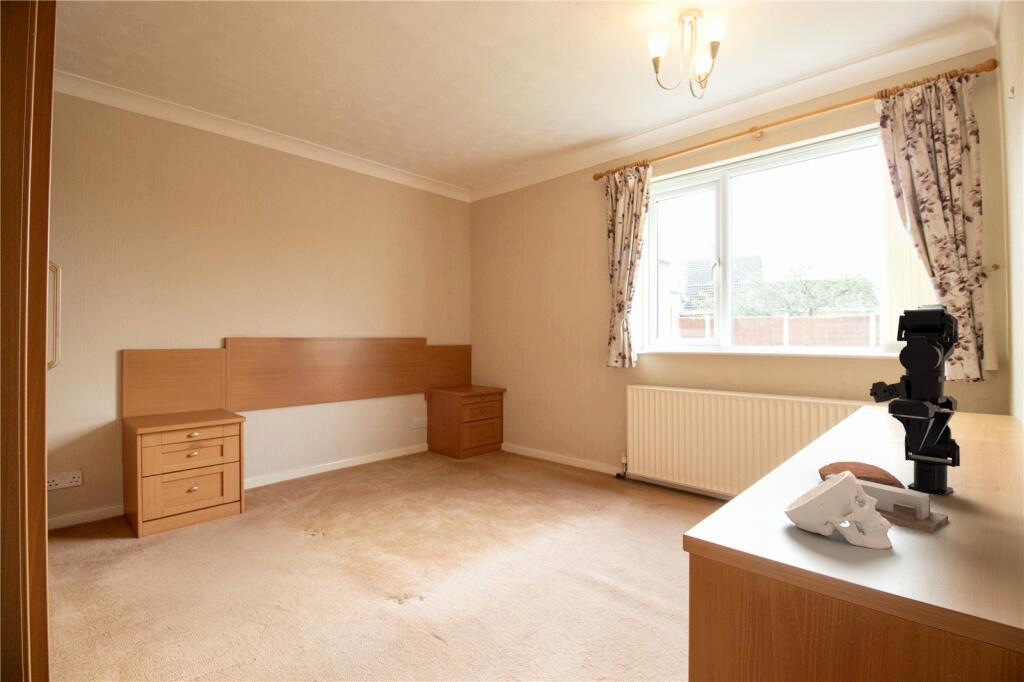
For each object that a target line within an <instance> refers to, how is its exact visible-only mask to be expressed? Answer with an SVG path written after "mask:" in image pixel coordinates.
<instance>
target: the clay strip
mask: <svg viewBox="0 0 1024 682" xmlns="http://www.w3.org/2000/svg"><path fill="white" fill-rule="evenodd" d="M834 476H836V474H831V475H828V476H825V481H826V480H828V479H830V478H832V477H834ZM858 481H859V482H860V484H861V486H862V488H863V491H864V492H865V493H866V494H867V495H868V496H870V497H872V498H875V499H877V500H878V501H877V502H876V504H875V508H877V509H881V510H885V511H889V512H893V503H895V502H899V503H903V504H908V505H912V506H916V507H917V519H921V520H923V519H924V518H926V517H928V516H929V499H930V493H924V492H920V491H914V490H911V489H910V490H909V489H901V488H897V487H892V486H887V485H883V484H878V483H873V482H869V481H864V480H859V479H858Z"/></svg>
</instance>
